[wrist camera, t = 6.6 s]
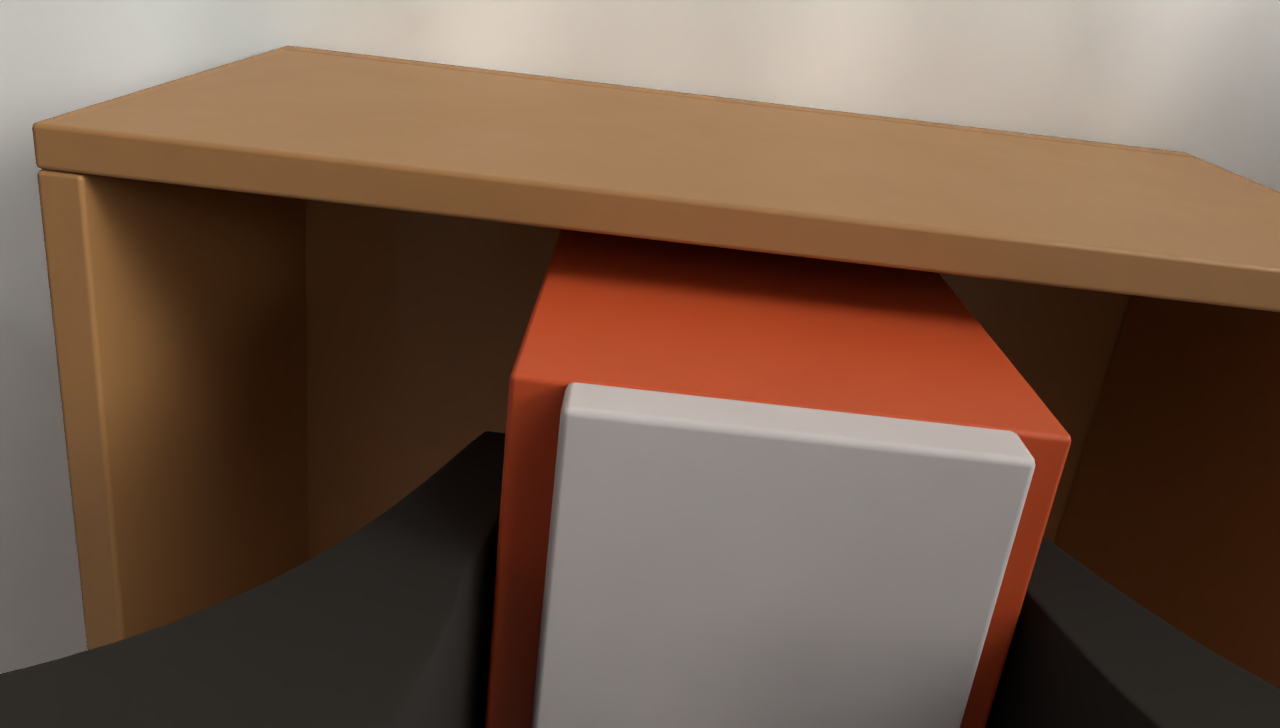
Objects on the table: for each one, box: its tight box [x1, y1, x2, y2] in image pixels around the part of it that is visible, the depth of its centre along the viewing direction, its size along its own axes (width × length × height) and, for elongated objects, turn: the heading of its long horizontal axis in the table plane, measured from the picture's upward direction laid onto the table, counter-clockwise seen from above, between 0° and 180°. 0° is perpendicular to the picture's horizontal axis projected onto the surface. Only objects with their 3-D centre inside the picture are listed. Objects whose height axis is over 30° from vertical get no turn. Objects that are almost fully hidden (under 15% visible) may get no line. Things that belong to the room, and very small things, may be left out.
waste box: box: [32, 46, 1280, 689], centre depth 15 cm, size 13×15×6 cm
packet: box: [484, 229, 1071, 728], centre depth 10 cm, size 4×6×5 cm, turn 174°
